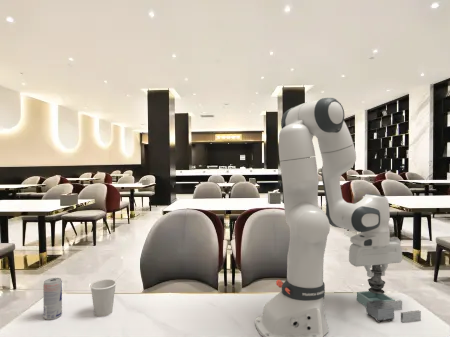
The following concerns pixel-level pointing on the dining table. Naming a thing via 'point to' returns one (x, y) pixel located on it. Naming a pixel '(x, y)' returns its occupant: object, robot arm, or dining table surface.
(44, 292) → the energy drink
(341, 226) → the robot arm
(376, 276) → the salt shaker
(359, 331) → the dining table surface
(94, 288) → the dixie cup
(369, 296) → the tray
